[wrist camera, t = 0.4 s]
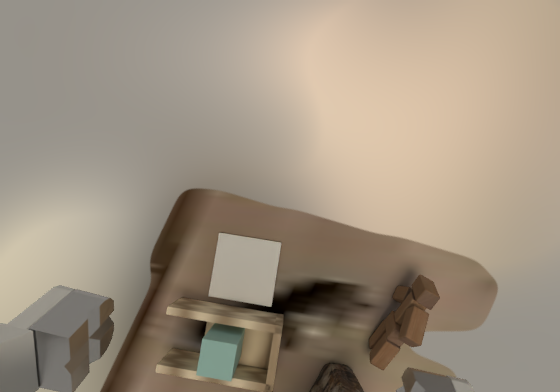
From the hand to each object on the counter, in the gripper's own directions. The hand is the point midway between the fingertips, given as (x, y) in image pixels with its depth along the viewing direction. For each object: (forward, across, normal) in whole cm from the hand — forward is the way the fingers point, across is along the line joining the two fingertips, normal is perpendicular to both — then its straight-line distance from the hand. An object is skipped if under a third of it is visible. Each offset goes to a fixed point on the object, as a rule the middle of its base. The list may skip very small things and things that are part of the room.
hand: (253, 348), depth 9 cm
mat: (+44, -6, -27) cm, 51 cm away
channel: (+38, -6, -37) cm, 54 cm away
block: (+37, -6, -36) cm, 52 cm away
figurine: (+43, +20, -29) cm, 55 cm away
